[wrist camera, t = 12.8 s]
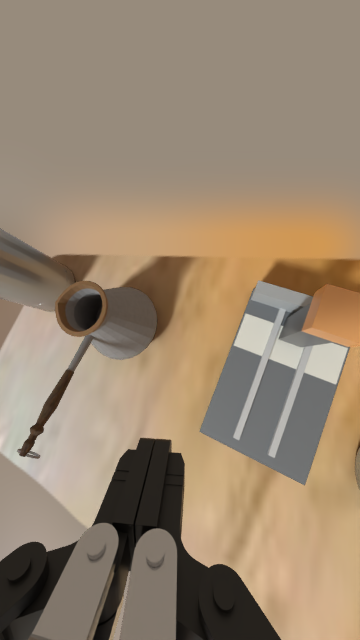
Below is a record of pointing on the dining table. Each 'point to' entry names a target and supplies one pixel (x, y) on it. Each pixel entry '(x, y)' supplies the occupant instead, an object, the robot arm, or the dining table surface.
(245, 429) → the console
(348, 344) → the fader
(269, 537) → the dining table surface
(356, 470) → the ceramic mug
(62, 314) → the coffee pot
